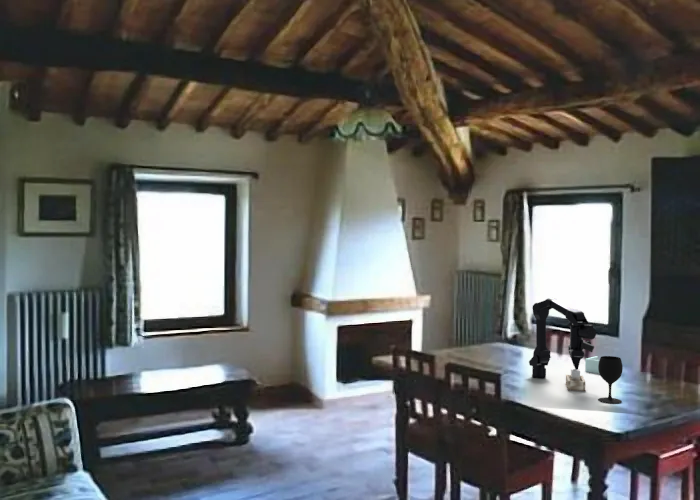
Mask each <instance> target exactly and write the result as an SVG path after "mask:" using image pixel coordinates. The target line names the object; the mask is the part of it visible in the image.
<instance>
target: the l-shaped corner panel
mask: <svg viewBox="0 0 700 500" xmlns="http://www.w3.org/2000/svg"><path fill="white" fill-rule="evenodd" d="M584 360H585V361H584V362H585V365H584V368H585V369H584V371H585V372H589V373H594V374H599V370H598V365H599V360H600V359H599V356H596V355H595V356H591V357H588V358H587V357H586V358H585V359H584Z"/></svg>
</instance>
